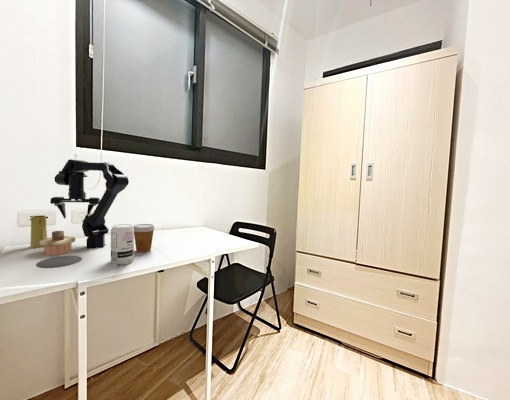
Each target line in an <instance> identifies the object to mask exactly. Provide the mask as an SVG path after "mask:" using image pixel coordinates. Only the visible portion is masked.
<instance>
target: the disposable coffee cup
mask: <svg viewBox="0 0 510 400" xmlns="http://www.w3.org/2000/svg"><path fill="white" fill-rule="evenodd" d="M133 228H134V246H135V250H136V252H137V253H147V252H150V251H152V244H153V236H154V230H156V228H155V226H154V224H152V223H140V224H139V223H138V224H134V225H133Z"/></svg>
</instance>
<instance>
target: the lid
mask: <svg viewBox="0 0 510 400" xmlns="http://www.w3.org/2000/svg"><path fill="white" fill-rule="evenodd" d="M74 242H76V237H75V236H65V231H64V230H54V231H52V232H51V237H47V238H46V239H43V240H40V245H44V246H56V245H64V244H69V243H74Z"/></svg>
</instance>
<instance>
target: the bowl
mask: <svg viewBox="0 0 510 400" xmlns="http://www.w3.org/2000/svg"><path fill="white" fill-rule="evenodd" d="M72 243H73V242H72ZM72 243H69V244H64V245H56V246H44V247H43V253H44V255H47V256H55V255H57V256H59V255H63V254H67V253H70V252H71V251H72V250H73V249H72V247H73V246H72Z"/></svg>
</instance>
